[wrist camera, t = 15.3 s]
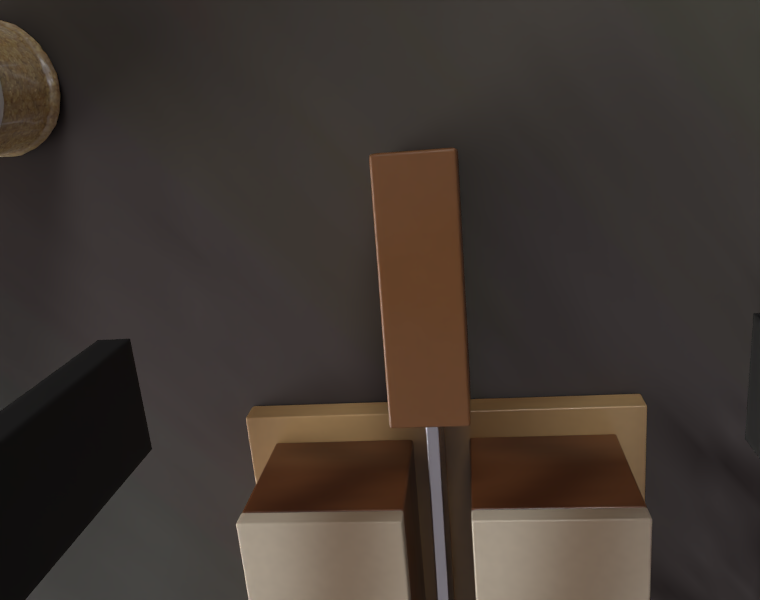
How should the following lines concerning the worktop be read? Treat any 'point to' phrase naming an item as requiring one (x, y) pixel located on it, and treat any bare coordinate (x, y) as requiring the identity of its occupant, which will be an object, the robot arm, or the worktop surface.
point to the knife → (424, 312)
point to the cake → (450, 502)
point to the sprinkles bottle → (25, 92)
